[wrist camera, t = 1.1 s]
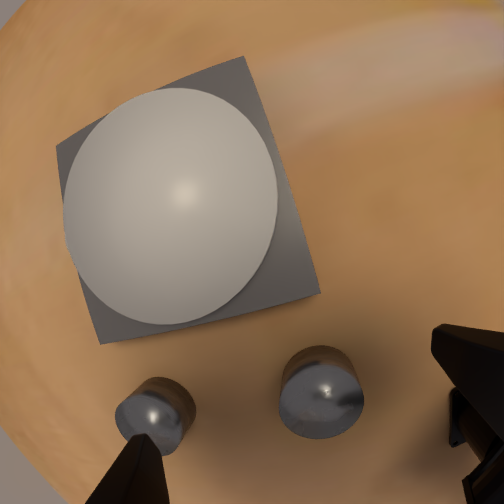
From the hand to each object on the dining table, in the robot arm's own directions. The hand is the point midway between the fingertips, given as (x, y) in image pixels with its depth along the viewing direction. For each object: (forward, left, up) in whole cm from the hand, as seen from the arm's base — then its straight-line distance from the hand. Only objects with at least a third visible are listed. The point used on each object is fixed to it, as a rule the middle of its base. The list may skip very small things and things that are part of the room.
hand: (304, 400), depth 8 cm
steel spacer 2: (-5, 0, -12) cm, 13 cm away
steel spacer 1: (-5, +12, -12) cm, 18 cm away
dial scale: (+9, +6, -12) cm, 16 cm away
